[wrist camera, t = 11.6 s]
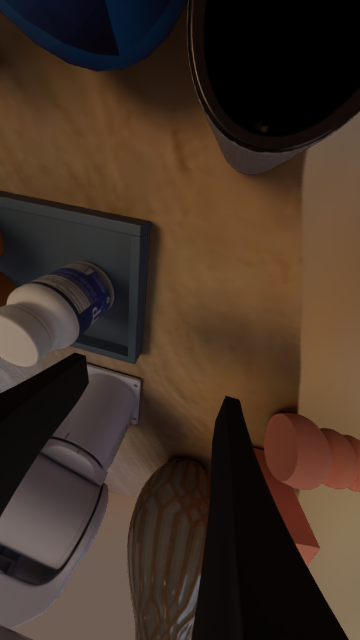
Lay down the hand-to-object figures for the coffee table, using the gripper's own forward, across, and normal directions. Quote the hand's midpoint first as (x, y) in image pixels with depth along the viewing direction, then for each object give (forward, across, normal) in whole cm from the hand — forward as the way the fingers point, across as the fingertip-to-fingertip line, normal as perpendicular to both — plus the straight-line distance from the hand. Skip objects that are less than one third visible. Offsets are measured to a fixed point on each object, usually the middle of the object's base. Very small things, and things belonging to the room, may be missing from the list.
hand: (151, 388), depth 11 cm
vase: (+10, -5, +30) cm, 32 cm away
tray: (+10, +14, +1) cm, 18 cm away
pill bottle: (+10, +10, +1) cm, 14 cm away
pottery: (+5, -11, +17) cm, 21 cm away
